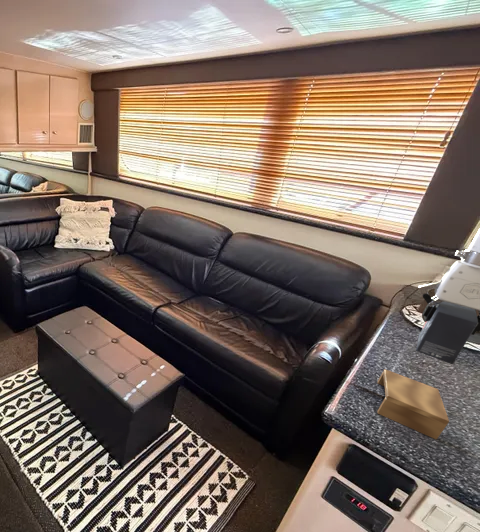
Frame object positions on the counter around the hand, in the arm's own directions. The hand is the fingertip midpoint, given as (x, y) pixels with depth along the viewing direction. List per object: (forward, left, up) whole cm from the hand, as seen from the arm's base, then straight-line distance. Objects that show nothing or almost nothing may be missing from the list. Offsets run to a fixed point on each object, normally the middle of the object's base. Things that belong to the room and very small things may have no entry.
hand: (447, 325), depth 81 cm
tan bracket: (+1, +7, -24) cm, 25 cm away
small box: (0, 0, -7) cm, 7 cm away
